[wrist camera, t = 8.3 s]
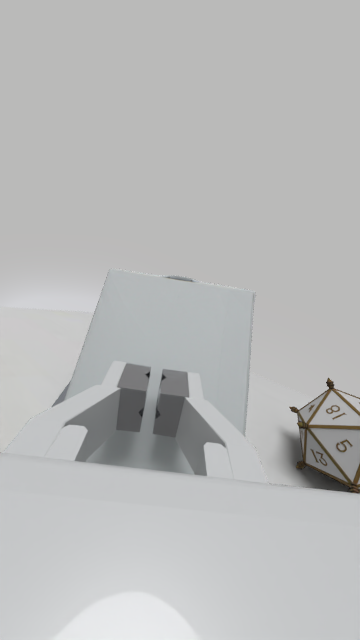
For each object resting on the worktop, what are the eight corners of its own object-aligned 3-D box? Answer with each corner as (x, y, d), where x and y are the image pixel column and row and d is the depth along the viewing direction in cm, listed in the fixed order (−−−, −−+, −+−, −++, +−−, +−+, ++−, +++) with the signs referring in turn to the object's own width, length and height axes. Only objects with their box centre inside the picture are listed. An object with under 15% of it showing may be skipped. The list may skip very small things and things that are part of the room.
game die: (288, 483, 22) (264, 381, 24) (373, 468, 22) (341, 367, 24) (354, 565, 13) (307, 393, 15) (496, 541, 13) (430, 371, 15)
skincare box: (204, 587, 11) (235, 327, 17) (231, 754, 6) (264, 286, 12) (53, 545, 12) (131, 306, 18) (-53, 662, 6) (111, 258, 12)
